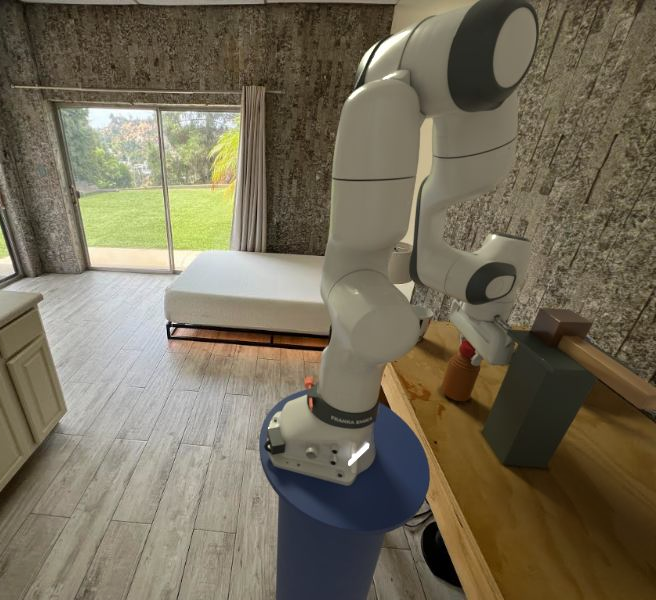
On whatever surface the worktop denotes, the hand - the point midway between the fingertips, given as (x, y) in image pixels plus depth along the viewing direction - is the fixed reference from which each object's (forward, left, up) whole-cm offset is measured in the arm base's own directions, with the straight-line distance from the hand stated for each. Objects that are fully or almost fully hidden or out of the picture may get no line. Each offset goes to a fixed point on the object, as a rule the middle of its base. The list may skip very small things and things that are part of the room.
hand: (468, 357), depth 76 cm
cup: (-2, +27, -12) cm, 30 cm away
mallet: (+4, -21, +14) cm, 26 cm away
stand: (+4, -17, -12) cm, 21 cm away
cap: (0, 0, +3) cm, 3 cm away
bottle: (0, 0, -11) cm, 11 cm away
